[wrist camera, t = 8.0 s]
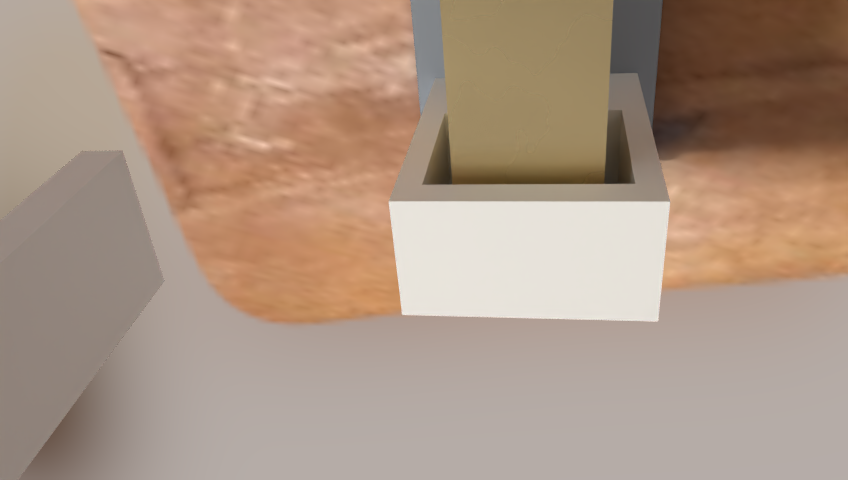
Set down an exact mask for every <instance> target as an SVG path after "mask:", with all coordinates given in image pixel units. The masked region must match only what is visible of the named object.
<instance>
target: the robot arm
mask: <svg viewBox="0 0 848 480" xmlns="http://www.w3.org/2000/svg"><path fill="white" fill-rule="evenodd" d="M163 282H164V278H163V275H162V272H161V269H160V266H159V263H158V260H157V256H156V253H155V250H154V247H153V244H152V241H151V238H150V235H149V232H148V229H147V226H146V222H145V219H144V216H143V213H142V210H141V207H140V204H139V201H138V197H137V194H136V191H135V188H134V185H133V182H132V179H131V176H130V172H129V169H128V166H127V163H126V160H125V157H124V154H123V151H81V152H80V153H79V154H78V155H77V156H75V157H74V158H73V159H72V160H71V161H70V162H68V163H67V164H66V165H65V166H64V167H62V168H61V169H60V170H59V171H58V172H57V173H56V174H54V175H53V176H52V177H51V178H49V179H48V180H47V181H46V182H45V183H44V184H42V185H41V186H40V187H39V188H38V189H37V190H35V191H34V192H33V193H32V194H31V195H29V196H28V197H27V198H26V199H25V200H24V201H22V202H21V203H20V204H19V205H18V206H16V207H15V208H14V209H13V210H12V211H10V212H9V213H8V214H7V215H6V216H5V217H3V218H2V219H1V220H0V480H18V479H19V478H20V476H21V475H22V474H23V472H24V471H25V469H26V468H27V467H28V465H29V464H30V462H31V461H32V460H33V459H34V457H35V456H36V455H37V453H38V452H39V450H40V449H41V448H42V446H43V445H44V444H45V442H46V441H47V439H48V438H49V437H50V436H51V434H52V433H53V431H54V430H55V429H56V427H57V426H58V425H59V423H60V422H61V421H62V419H63V418H64V417H65V415H66V414H67V412H68V411H69V410H70V408H71V407H72V405H73V404H74V403H75V402H76V400H77V399H78V398H79V396H80V395H81V393H82V392H83V391H84V389H85V388H86V387H87V385H88V384H89V383H90V381H91V380H92V379H93V377H94V376H95V374H96V373H97V372H98V370H99V369H100V368H101V366H102V365H103V364H104V362H105V361H106V360H107V358H108V357H109V356H110V354H111V353H112V351H113V350H114V349H115V347H116V346H117V345H118V343H119V342H120V340H121V339H122V338H123V337H124V335H125V334H126V332H127V331H128V330H129V328H130V327H131V326H132V324H133V323H134V322H135V320H136V319H137V318H138V316H139V315H140V313H141V312H142V311H143V309H144V308H145V307H146V305H147V304H148V303H149V301H150V300H151V298H152V297H153V296H154V294H155V293H156V292H157V290H158V289H159V288H160V286H161V285H162V284H163Z"/></svg>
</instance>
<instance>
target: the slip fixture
mask: <svg viewBox="0 0 848 480" xmlns="http://www.w3.org/2000/svg"><path fill="white" fill-rule="evenodd" d="M410 1H411V12H412V23H413V34H414V46H415V57H416V68H417V79H418V90H419V102H420V113H421V117H420V120H419V123H418V125H417V128H416V130H415V133H414V136H413V138H412V141H411V144H410V146H409V149H408V152H407V154H406V157H405V160H404V162H403V165H402V168H401V170H400V173H399V175H398V178H397V181H396V183H395V186H394V189H393V191H392V194H391V197H390V199H389V208H390V216H391V225H392V233H393V241H394V250H395V258H396V266H397V275H398V283H399V291H400V300H401V308H402V315H428V316H466V317H468V316H469V317H505V318H507V317H509V318H544V319H583V320H622V321H623V320H624V321H658V316H659V305H660V297H661V287H662V277H663V267H664V257H665V247H666V237H667V228H668V218H669V208H670V199H669V195H668V191H667V187H666V183H665V179H664V176H663V172H662V168H661V164H660V160H659V156H658V152H657V148H656V144H655V140H654V136H653V132H652V125H653V113H654V101H655V89H656V77H657V65H658V52H659V40H660V28H661V16H662V4H663V0H613V17H612V38H611V58H610V79H609V99H608V120H607V140H606V160H605V181H604V184H459V185H452V171H451V156H450V142H449V127H448V113H447V98H446V84H445V69H444V55H443V41H442V26H441V12H440V0H410Z"/></svg>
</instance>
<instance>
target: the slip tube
mask: <svg viewBox="0 0 848 480" xmlns="http://www.w3.org/2000/svg"><path fill="white" fill-rule="evenodd" d="M440 12H441V26H442V41H443V55H444V69H445V84H446V98H447V113H448V127H449V142H450V156H451V171H452V185H459V184H604V181H605V160H606V140H607V120H608V99H609V79H610V58H611V38H612V17H613V0H440Z"/></svg>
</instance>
